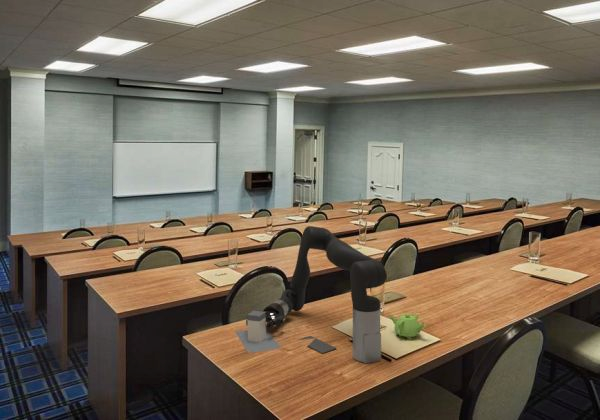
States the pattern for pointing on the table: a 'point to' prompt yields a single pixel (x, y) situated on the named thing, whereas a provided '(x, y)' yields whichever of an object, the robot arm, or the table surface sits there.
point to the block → (256, 326)
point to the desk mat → (252, 347)
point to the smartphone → (319, 345)
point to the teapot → (407, 325)
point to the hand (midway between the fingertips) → (257, 324)
